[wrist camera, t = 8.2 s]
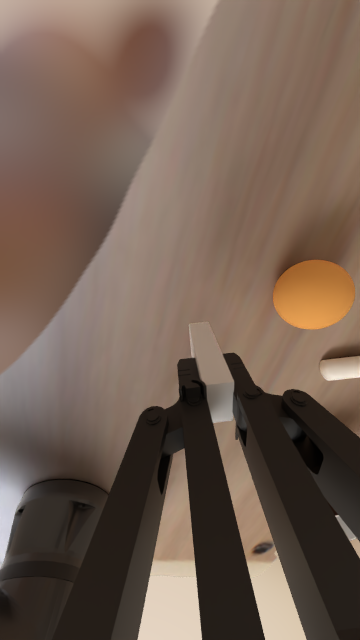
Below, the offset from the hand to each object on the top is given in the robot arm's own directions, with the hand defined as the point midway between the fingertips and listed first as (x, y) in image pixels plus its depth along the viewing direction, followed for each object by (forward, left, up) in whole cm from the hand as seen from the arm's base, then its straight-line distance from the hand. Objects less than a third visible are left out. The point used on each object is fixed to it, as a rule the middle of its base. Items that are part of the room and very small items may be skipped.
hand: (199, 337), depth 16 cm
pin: (+15, -9, -5) cm, 18 cm away
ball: (+10, +1, -3) cm, 11 cm away
